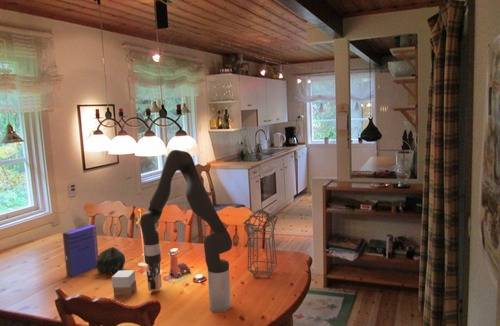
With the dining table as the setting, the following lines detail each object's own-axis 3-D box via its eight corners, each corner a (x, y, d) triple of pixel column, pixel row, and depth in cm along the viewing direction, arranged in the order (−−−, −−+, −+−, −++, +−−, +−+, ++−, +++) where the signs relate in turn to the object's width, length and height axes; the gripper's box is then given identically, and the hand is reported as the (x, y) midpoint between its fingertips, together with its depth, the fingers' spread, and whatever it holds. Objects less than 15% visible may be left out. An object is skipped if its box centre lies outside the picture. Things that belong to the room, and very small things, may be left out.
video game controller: (186, 273, 221) (182, 261, 223) (191, 271, 219) (187, 259, 220) (172, 280, 214) (167, 267, 215) (177, 278, 211) (172, 265, 212)
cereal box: (93, 265, 236) (90, 224, 233) (99, 266, 234) (95, 225, 231) (66, 275, 222) (62, 232, 219) (72, 277, 219) (68, 233, 216)
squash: (96, 258, 230) (95, 244, 220) (124, 255, 236) (124, 241, 225) (97, 282, 222) (96, 268, 211) (125, 278, 227) (126, 264, 216)
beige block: (158, 290, 194) (157, 278, 194) (148, 290, 195) (147, 278, 194) (161, 286, 199) (160, 274, 198) (151, 286, 200) (150, 274, 199)
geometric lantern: (280, 270, 217) (278, 206, 211) (273, 283, 202) (272, 214, 196) (251, 268, 221) (249, 205, 216) (243, 280, 206) (240, 213, 201)
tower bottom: (130, 297, 192) (129, 287, 191) (114, 297, 193) (113, 287, 192) (136, 290, 200) (135, 280, 199) (120, 290, 201) (119, 280, 200)
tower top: (129, 287, 191) (128, 277, 191) (112, 287, 192) (111, 277, 191) (135, 280, 199) (134, 270, 199) (119, 280, 200) (118, 270, 199)
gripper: (155, 257, 187) (158, 293, 189) (164, 247, 202) (166, 280, 204) (139, 257, 188) (142, 293, 190) (149, 247, 202) (151, 280, 204)
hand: (155, 286), depth 197 cm, fingers closed on beige block, 5 cm apart
